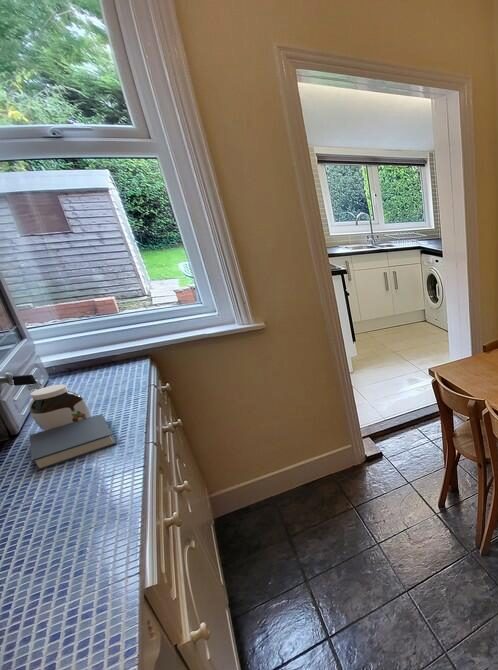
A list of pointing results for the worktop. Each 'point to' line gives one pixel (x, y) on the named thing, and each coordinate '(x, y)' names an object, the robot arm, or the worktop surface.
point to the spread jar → (57, 407)
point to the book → (70, 441)
